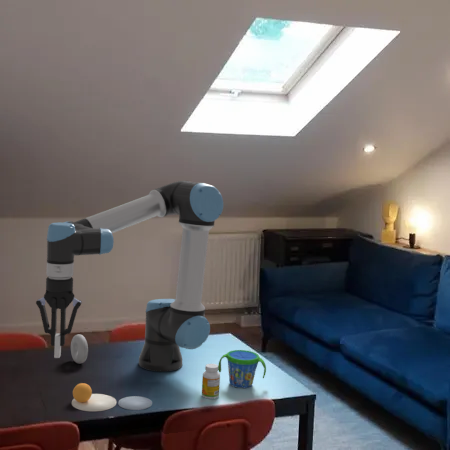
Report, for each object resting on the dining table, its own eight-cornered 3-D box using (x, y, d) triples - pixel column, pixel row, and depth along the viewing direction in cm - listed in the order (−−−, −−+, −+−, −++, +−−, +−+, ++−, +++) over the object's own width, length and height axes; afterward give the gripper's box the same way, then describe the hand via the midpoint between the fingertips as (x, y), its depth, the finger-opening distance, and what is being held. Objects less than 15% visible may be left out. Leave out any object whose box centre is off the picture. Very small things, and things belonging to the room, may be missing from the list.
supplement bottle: (201, 392, 216) (202, 362, 215) (218, 392, 217) (220, 363, 215) (201, 398, 211) (203, 368, 210) (219, 399, 211) (221, 368, 210)
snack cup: (268, 383, 228) (270, 353, 226) (260, 394, 218) (262, 363, 216) (223, 375, 232) (225, 346, 231) (213, 386, 222) (215, 355, 221)
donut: (89, 366, 233) (90, 338, 232) (79, 368, 231) (80, 339, 230) (78, 357, 242) (78, 330, 240) (68, 359, 240) (69, 331, 238)
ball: (68, 389, 204) (79, 403, 205) (69, 393, 199) (81, 408, 200) (83, 377, 206) (94, 391, 207) (84, 381, 200) (96, 395, 201)
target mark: (117, 394, 210) (117, 394, 210) (115, 411, 197) (115, 411, 197) (74, 394, 209) (74, 393, 209) (69, 411, 196) (69, 410, 196)
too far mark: (152, 397, 210) (152, 396, 210) (152, 410, 200) (152, 409, 200) (118, 396, 209) (118, 396, 209) (117, 409, 199) (117, 409, 199)
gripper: (34, 278, 192) (32, 360, 195) (81, 280, 194) (78, 361, 197) (38, 273, 200) (36, 351, 203) (84, 275, 201) (81, 352, 204)
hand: (57, 356), depth 200 cm, fingers closed
